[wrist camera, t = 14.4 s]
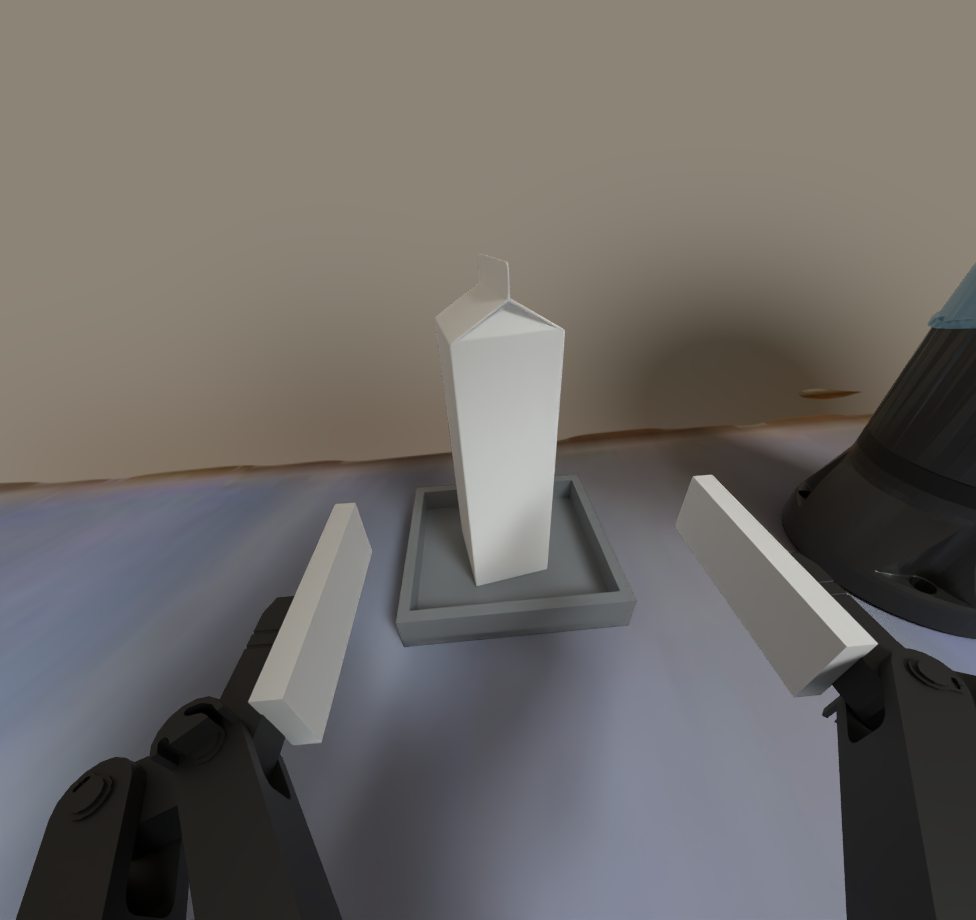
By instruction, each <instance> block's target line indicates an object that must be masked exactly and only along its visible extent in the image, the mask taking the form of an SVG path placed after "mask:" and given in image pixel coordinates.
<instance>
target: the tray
mask: <svg viewBox="0 0 976 920" xmlns="http://www.w3.org/2000/svg"><path fill="white" fill-rule="evenodd" d="M636 601H637V600H636V598H635V596H634V594H633V592H632V590H631V588H630V585H629V583H628V581H627V579H626V577H625V575H624V573H623V571H622V568H621V566H620V564H619V562H618V560H617V558H616V556H615V553H614V551H613V549H612V547H611V545H610V543H609V541H608V538H607V536H606V534H605V532H604V530H603V528H602V526H601V524H600V521H599V519H598V517H597V515H596V513H595V511H594V509H593V506H592V504H591V502H590V500H589V498H588V496H587V494H586V491H585V489H584V487H583V485H582V483H581V481H580V479H579V477H578V474H577V475H565V476H554V485H553V499H552V512H551V525H550V539H549V552H548V565H547V569H545V570H541V571H537V572H533V573H529V574H525V575H521V576H517V577H513V578H509V579H505V580H501V581H497V582H493V583H489V584H485V585H480V586H476V583H475V580H474V576H473V572H472V568H471V564H470V560H469V556H468V552H467V549H466V545H465V541H464V537H463V533H462V526H461V518H460V511H459V503H458V495H457V487H456V485H444V486H432V487H420V488H416V494H415V501H414V507H413V514H412V520H411V527H410V534H409V540H408V547H407V553H406V560H405V566H404V573H403V579H402V586H401V592H400V599H399V605H398V612H397V618H396V625H397V628H398V631H399V634H400V636H401V639H402V642H403V645H404V647H408V646H418V645H429V644H439V643H450V642H460V641H470V640H481V639H491V638H501V637H512V636H522V635H533V634H543V633H553V632H564V631H574V630H584V629H595V628H605V627H615V626H626V625H629V622H630V619H631V616H632V613H633V610H634V607H635V604H636Z"/></svg>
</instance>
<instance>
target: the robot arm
mask: <svg viewBox="0 0 976 920" xmlns="http://www.w3.org/2000/svg"><path fill="white" fill-rule="evenodd" d="M928 325H929V326H931V329H930V330H929V332H928V333H927V335H926V336H925V338H924V339H923V341H922V342H921V344H920V345H919V347H918V348H917V350H916V351H915V353H914V354H913V356H912V357H911V359H910V360H909V362H908V363H907V365H906V366H905V368H904V369H903V371H902V372H901V374H900V375H899V377H898V378H897V380H896V381H895V383H894V384H893V386H892V387H891V389H890V390H889V392H888V393H887V395H886V396H885V398H884V399H883V401H882V402H881V404H880V405H879V407H878V408H877V410H876V411H875V413H874V414H873V416H872V417H871V419H870V420H869V422H868V424H867V425H866V427H865V428H864V430H863V431H862V433H861V434H860V436H859V437H858V439H857V440H856V441H855V443H854V444H853V445H852V446H851V447H850V448H848V449H847V450H846V451H844V452H843V453H842V454H840V455H839V456H838V457H836V458H835V459H834V460H832V461H831V462H830V463H828V464H827V465H825V466H824V467H823V468H821V469H820V470H819V471H817V472H816V473H815V474H813V475H812V476H811V477H809V478H808V479H807V480H805V481H804V482H803V483H801V484H800V485H799V486H798V487H797V488H796V489H795V491H794V492H793V494H792V495H791V497H790V499H789V500H788V502H787V504H786V506H785V507H784V510H783V513H782V521H783V525H784V528H785V531H786V533H787V535H788V536H789V538H790V540H791V541H792V543H793V544H794V545H795V546H796V548H797V549H798V550H799V551H800V552H801V553H802V554H803V555H804V556H803V555H802V554H800V553H789V552H788V551H787V550H786V549H785V548H784V547H783V546H782V545H781V544H780V543H779V542H778V541H777V540H776V539H775V538H774V537H773V536H772V535H771V534H770V533H769V532H768V531H767V530H766V529H765V528H764V527H763V526H762V525H761V524H760V523H759V522H758V521H757V520H756V519H755V518H754V517H753V516H752V515H751V514H750V513H749V512H748V511H747V510H746V509H745V508H744V507H743V506H742V505H741V504H740V503H739V502H738V501H737V500H736V499H735V498H734V497H733V496H732V495H731V493H730V492H729V491H728V490H727V489H726V488H725V487H724V486H723V485H722V484H721V483H720V482H719V481H718V480H717V479H716V478H715V477H714V476H713V475H701V476H693V477H692V480H691V482H690V485H689V488H688V491H687V494H686V496H685V499H684V502H683V505H682V507H681V510H680V513H679V516H678V519H677V521H676V524H675V527H676V529H677V530H678V532H679V533H680V535H681V536H682V538H683V539H684V540H685V542H686V543H687V545H688V546H689V548H690V549H691V550H692V552H693V553H694V555H695V556H696V558H697V559H698V560H699V562H700V563H701V565H702V566H703V568H704V569H705V571H706V572H707V573H708V575H709V576H710V578H711V579H712V581H713V582H714V583H715V585H716V586H717V588H718V589H719V591H720V592H721V593H722V595H723V596H724V598H725V599H726V601H727V602H728V604H729V605H730V606H731V608H732V609H733V611H734V612H735V614H736V615H737V616H738V618H739V619H740V621H741V622H742V624H743V625H744V626H745V628H746V629H747V631H748V632H749V634H750V635H751V637H752V638H753V639H754V641H755V642H756V644H757V645H758V647H759V648H760V649H761V651H762V652H763V654H764V655H765V657H766V658H767V659H768V661H769V662H770V664H771V665H772V667H773V668H774V670H775V671H776V672H777V674H778V675H779V677H780V678H781V680H782V681H783V682H784V684H785V685H786V687H787V688H788V690H789V691H790V692H791V694H792V695H793V697H804V696H814V695H821V694H822V693H823V692H824V691H825V690H827V689H828V688H829V687H830V686H831V685H833V686H834V688H835V689H836V690H837V692H838V693H839V694H840V696H839V697H838V698H836V699H835V700H834V701H833V702H832V703H830V704H829V705H828V706H827V707H826V708H824V710H823V714H822V716H824V717H826V718H828V717H829V716H831V715H832V714H833V713H834V712H837V719H836V720H835V722H836V723H837V732H838V752H839V772H840V792H841V812H842V832H843V852H844V872H845V892H846V912H847V920H976V676H974V675H970V674H965V673H960V672H956V671H953V670H951V669H950V668H949V667H947V666H946V665H944V664H943V663H942V662H940V661H939V660H937V659H935V658H933V657H931V656H929V655H927V654H925V653H923V652H919V651H916V650H913V649H906V648H904V647H903V646H902V645H901V644H900V643H899V642H897V641H896V640H895V639H894V638H893V637H892V636H891V635H890V634H889V633H888V632H887V631H886V630H885V629H884V628H883V627H882V626H881V625H880V624H879V623H878V622H877V621H876V620H875V619H874V618H872V617H871V616H870V615H869V614H868V613H867V612H866V611H865V610H864V609H863V608H862V607H861V606H860V605H859V604H858V603H857V602H856V601H855V600H854V599H853V598H852V597H851V596H850V595H847V594H846V591H845V590H844V589H843V588H841V587H840V586H839V585H841V586H842V587H844V588H846V589H847V590H849V591H850V592H852V593H854V594H855V595H857V596H859V597H861V598H862V599H864V600H866V601H868V602H870V603H872V604H874V605H876V606H878V607H880V608H882V609H884V610H886V611H888V612H890V613H893V614H895V615H897V616H900V617H902V618H904V619H907V620H909V621H912V622H915V623H917V624H920V625H923V626H926V627H929V628H932V629H935V630H939V631H942V632H946V633H949V634H953V635H958V636H962V637H967V638H973V639H976V263H975V264H974V266H973V267H972V268H971V270H970V271H969V272H968V274H967V275H966V276H965V278H964V279H963V280H962V282H961V283H960V285H959V286H958V287H957V289H956V290H955V291H954V293H953V294H952V296H951V297H950V298H949V300H948V301H947V302H946V304H945V305H944V307H943V308H942V309H941V311H939V312H937V313H936V314H934V315H933V316H932V317H931V319H930V321H929V322H928ZM371 554H372V549H371V546H370V543H369V540H368V537H367V535H366V532H365V529H364V526H363V523H362V520H361V518H360V515H359V512H358V509H357V506H356V503H345V504H335V505H334V508H333V510H332V512H331V515H330V517H329V519H328V521H327V524H326V526H325V528H324V530H323V533H322V535H321V537H320V540H319V542H318V544H317V546H316V549H315V551H314V553H313V555H312V558H311V560H310V562H309V565H308V567H307V569H306V571H305V574H304V576H303V578H302V580H301V583H300V585H299V587H298V590H297V592H296V594H295V596H291V597H279V598H276V599H275V601H274V602H273V603H272V604H271V605H270V606H269V607H268V608H267V609H266V611H265V612H264V613H263V614H262V616H261V618H260V620H259V622H258V624H257V626H256V628H255V630H254V634H253V635H252V636H251V638H250V640H249V642H248V644H247V649H245V650H244V652H243V654H242V656H241V658H240V660H239V662H238V664H237V666H236V668H235V670H234V672H233V674H232V676H231V678H230V680H229V682H228V684H227V686H226V688H225V690H224V692H223V694H222V696H221V698H220V700H219V699H216V698H213V697H204V698H199V699H196V700H194V701H192V702H190V703H188V704H186V705H184V706H183V707H181V708H180V709H179V710H178V711H177V712H175V713H174V714H173V715H172V716H171V717H170V718H169V719H168V720H167V721H166V723H165V724H164V725H163V726H162V727H161V729H160V730H159V731H158V733H157V735H156V737H155V739H154V741H153V743H152V745H151V751H150V756H148V757H145V758H143V759H141V760H139V761H136V762H133V761H131V760H129V759H127V758H121V757H114V758H111V759H108V760H106V761H103V762H101V763H99V764H97V765H96V766H94V767H93V768H91V769H90V770H88V771H87V772H85V773H84V774H83V775H82V776H81V777H80V778H79V779H78V780H77V781H76V782H74V783H73V784H72V785H71V786H70V787H69V789H68V790H67V791H66V793H65V794H64V795H63V796H62V798H61V799H60V800H59V802H58V803H57V805H56V807H55V809H54V811H53V813H52V815H51V817H50V819H49V821H48V824H47V827H46V830H45V833H44V836H43V839H42V842H41V845H40V848H39V851H38V854H37V857H36V860H35V863H34V866H33V869H32V872H31V875H30V878H29V881H28V884H27V887H26V890H25V893H24V896H23V899H22V902H21V905H20V908H19V911H18V914H17V917H16V920H186V912H187V900H188V889H189V884H190V891H191V897H192V904H193V910H194V917H195V920H342V918H341V915H340V912H339V909H338V907H337V904H336V901H335V899H334V896H333V893H332V890H331V888H330V885H329V882H328V880H327V877H326V874H325V872H324V869H323V866H322V863H321V861H320V858H319V855H318V853H317V850H316V847H315V845H314V842H313V839H312V836H311V834H310V831H309V828H308V826H307V823H306V820H305V818H304V815H303V812H302V809H301V807H300V804H299V801H298V799H297V796H296V793H295V791H294V788H293V785H292V782H291V780H290V777H289V774H288V772H287V769H286V766H285V764H284V761H283V758H282V757H281V755H280V751H281V748H282V745H283V742H284V739H285V738H286V739H287V740H288V741H289V742H290V743H291V744H292V745H293V746H294V745H304V744H314V743H322V739H323V735H324V731H325V728H326V724H327V720H328V716H329V713H330V709H331V705H332V701H333V697H334V694H335V690H336V686H337V682H338V679H339V675H340V671H341V667H342V664H343V660H344V656H345V652H346V648H347V645H348V641H349V637H350V633H351V630H352V626H353V622H354V618H355V615H356V611H357V607H358V603H359V600H360V596H361V592H362V588H363V584H364V581H365V577H366V573H367V569H368V566H369V562H370V558H371ZM833 581H835V582H836V583H834V582H833ZM837 583H838V584H839V585H838V584H837Z"/></svg>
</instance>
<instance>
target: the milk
mask: <svg viewBox="0 0 976 920" xmlns="http://www.w3.org/2000/svg"><path fill="white" fill-rule="evenodd" d="M478 270H479V282H478V283H477V284H476V285H475V286H474V287H473V288H471V289H470V290H469V291H467V292H466V293H465V294H464V295H462V296H461V297H460V298H459V299H457V300H456V301H455V302H454V303H452V304H451V305H450V306H448V307H447V308H446V309H445V310H443V311H442V312H441V313H440V314H438V315H437V316H436V317H435V325H436V333H437V339H438V340H437V341H438V348H439V356H440V363H441V371H442V379H443V387H444V394H445V402H446V410H447V417H448V425H449V433H450V441H451V449H452V456H453V464H454V472H455V480H456V487H457V495H458V503H459V511H460V518H461V526H462V533H463V537H464V541H465V545H466V549H467V552H468V556H469V560H470V564H471V568H472V572H473V576H474V580H475V583H476V586H480V585H485V584H489V583H493V582H497V581H501V580H505V579H509V578H513V577H517V576H521V575H525V574H529V573H533V572H537V571H541V570H545V569H547V565H548V552H549V539H550V525H551V512H552V499H553V485H554V472H555V459H556V445H557V432H558V418H559V404H560V392H561V379H562V377H561V376H562V365H563V352H564V339H565V338H564V337H565V330H564V329H562V328H561V327H559V326H557V325H556V324H554V323H552V322H551V321H549V320H547V319H546V318H544V317H542V316H540V315H539V314H537V313H535V312H533V311H532V310H530V309H528V308H527V307H525V306H523V305H522V304H520V303H518V302H516V301H514V300H513V299H511V298H510V290H509V289H510V288H509V287H510V285H509V266H508V262H506V261H504V260H500V259H497V258H494V257H490V256H487V255H484V254H480V253H479V254H478Z"/></svg>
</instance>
